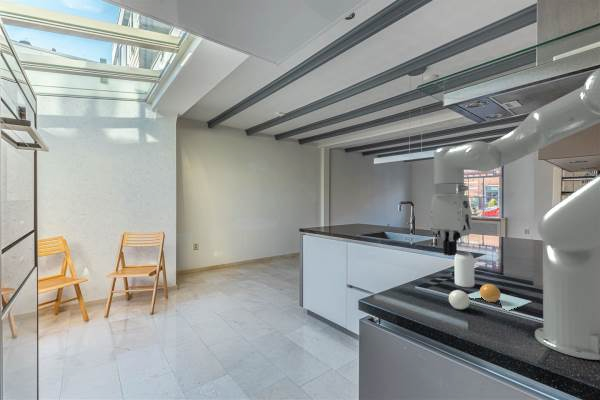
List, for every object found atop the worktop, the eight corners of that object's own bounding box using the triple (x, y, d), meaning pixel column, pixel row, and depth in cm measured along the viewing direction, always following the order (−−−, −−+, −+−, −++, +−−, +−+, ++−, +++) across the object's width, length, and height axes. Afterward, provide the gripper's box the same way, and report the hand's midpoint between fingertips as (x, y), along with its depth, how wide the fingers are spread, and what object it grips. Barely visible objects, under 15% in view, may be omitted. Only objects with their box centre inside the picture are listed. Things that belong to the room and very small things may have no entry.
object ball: (493, 288, 87) (494, 306, 87) (504, 284, 89) (504, 302, 89) (475, 283, 92) (476, 300, 92) (486, 280, 94) (486, 296, 94)
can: (477, 288, 104) (476, 255, 104) (458, 287, 105) (457, 255, 105) (470, 283, 110) (470, 252, 110) (452, 282, 111) (451, 251, 111)
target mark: (531, 302, 90) (531, 301, 90) (508, 311, 83) (508, 310, 83) (485, 289, 102) (485, 289, 102) (461, 296, 95) (461, 296, 95)
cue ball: (462, 294, 82) (468, 313, 81) (469, 287, 85) (475, 305, 85) (443, 294, 86) (448, 311, 86) (450, 286, 89) (456, 303, 89)
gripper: (483, 189, 77) (484, 257, 77) (434, 191, 90) (435, 249, 90) (467, 189, 73) (468, 261, 73) (418, 191, 86) (419, 252, 86)
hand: (450, 254), depth 81 cm, fingers closed
